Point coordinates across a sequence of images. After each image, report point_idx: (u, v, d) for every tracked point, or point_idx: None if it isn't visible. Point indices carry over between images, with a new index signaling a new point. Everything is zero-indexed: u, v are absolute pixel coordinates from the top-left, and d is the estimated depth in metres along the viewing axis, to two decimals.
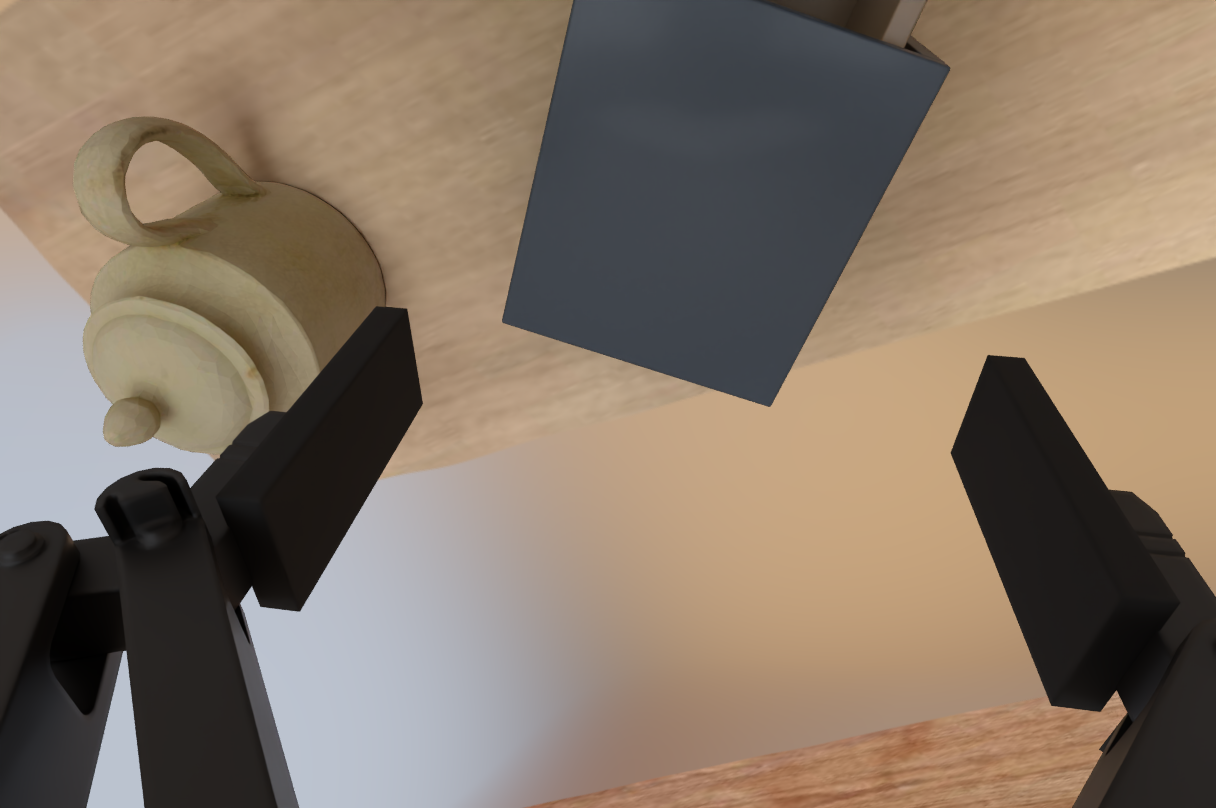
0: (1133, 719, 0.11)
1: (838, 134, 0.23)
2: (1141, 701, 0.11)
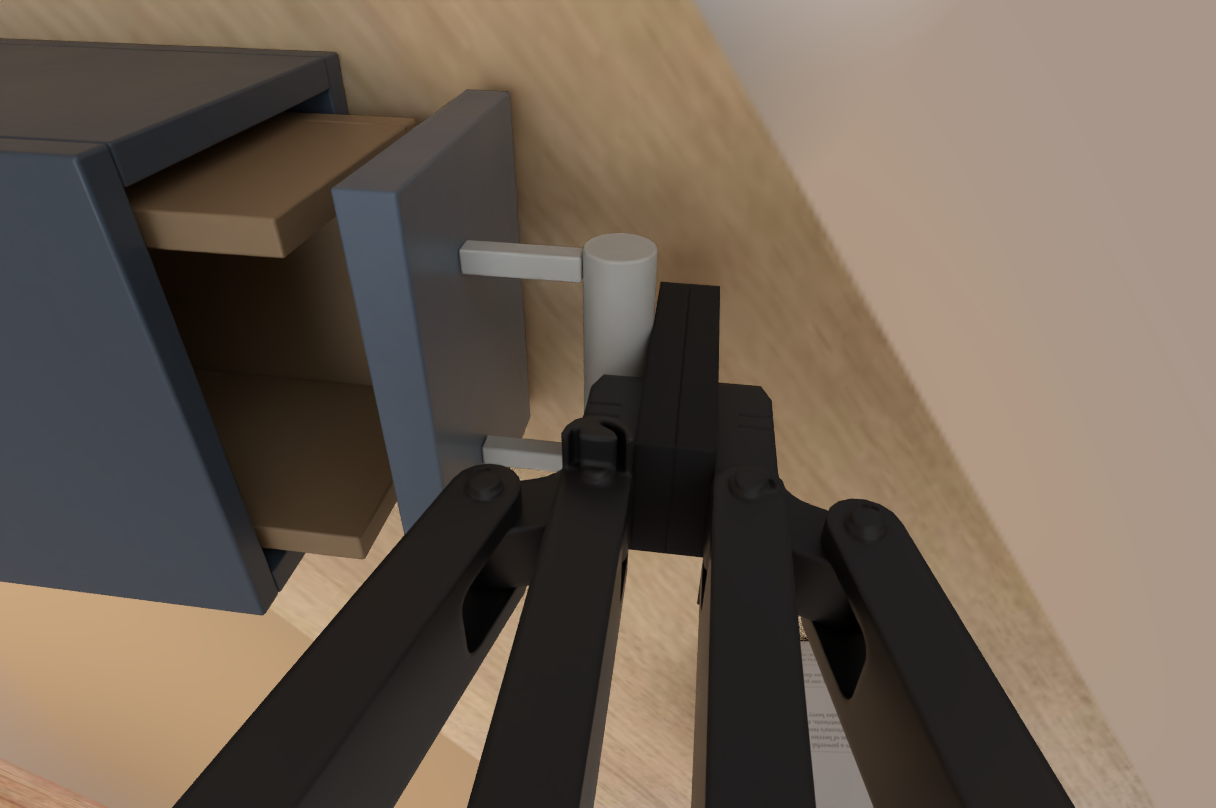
0: (707, 570, 0.13)
1: (129, 541, 0.17)
2: (706, 554, 0.13)
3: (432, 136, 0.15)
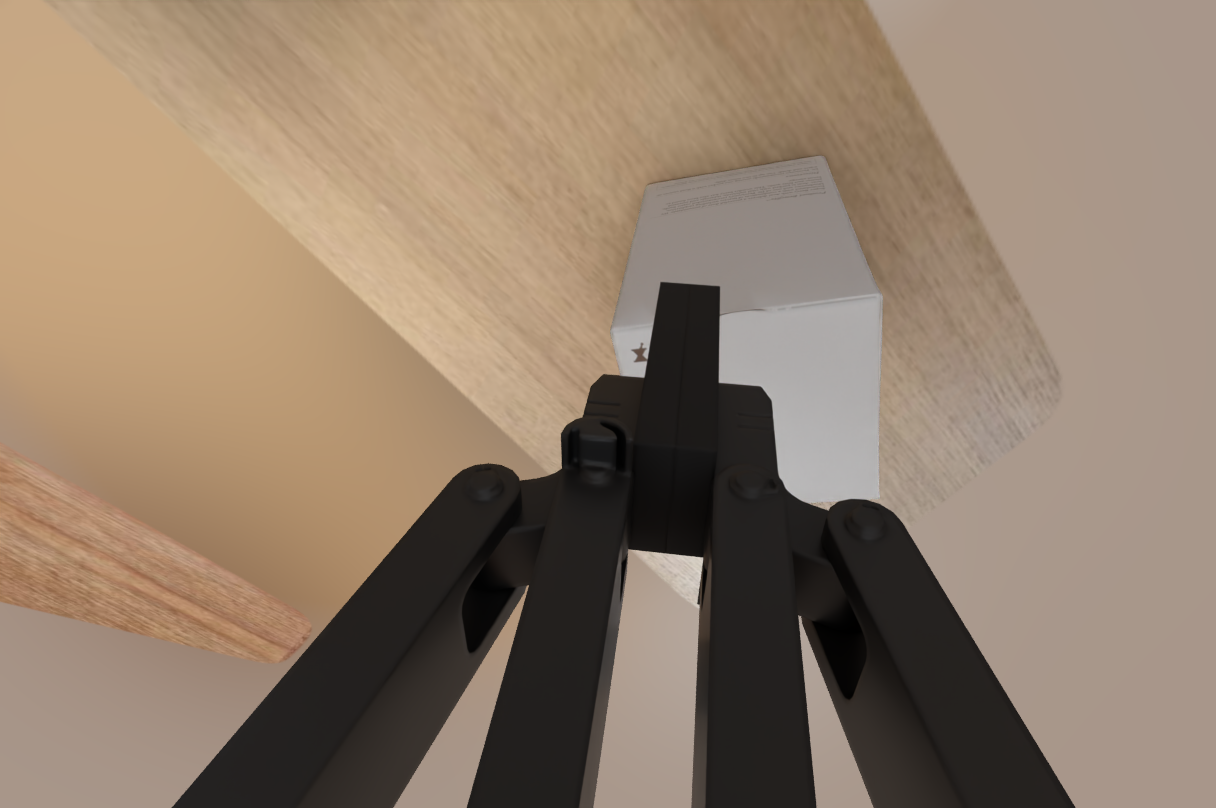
0: (707, 570, 0.13)
1: None
2: (706, 554, 0.13)
3: None
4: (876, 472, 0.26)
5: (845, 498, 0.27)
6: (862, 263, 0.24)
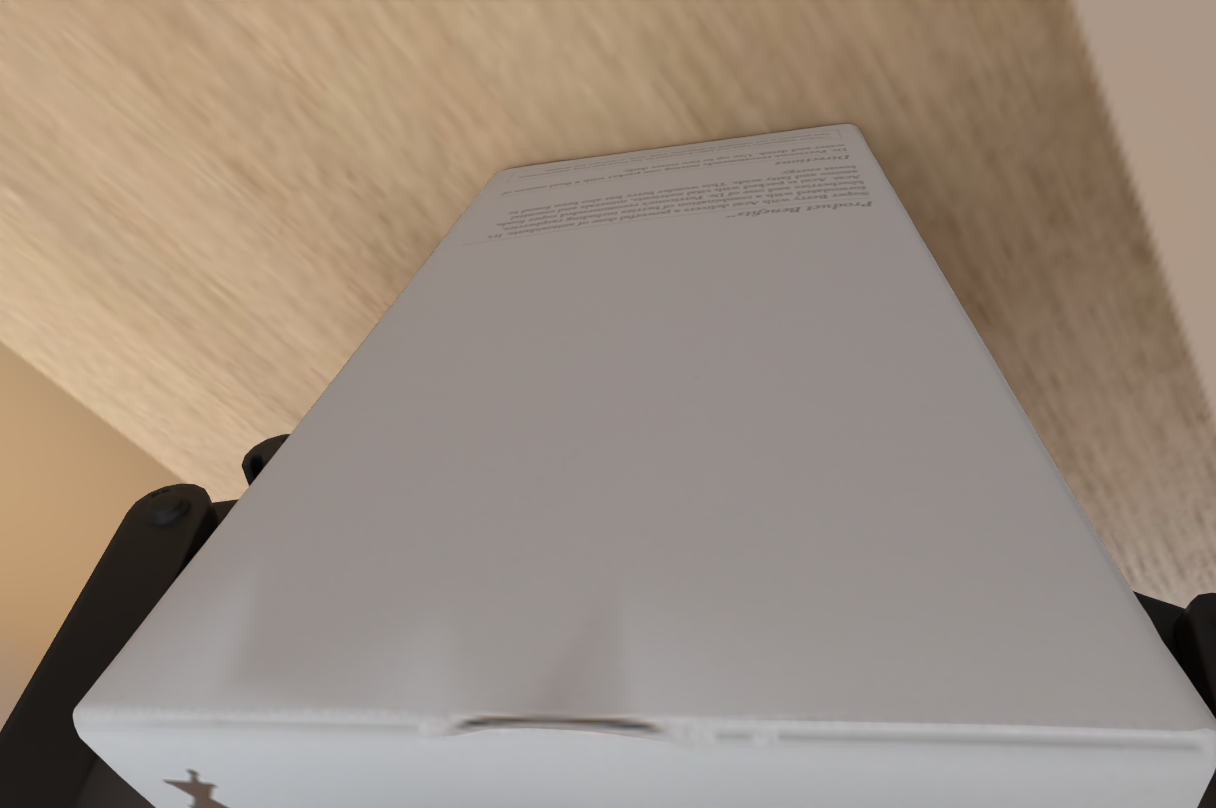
0: None
1: None
2: None
3: None
4: None
5: None
6: (1057, 491, 0.06)
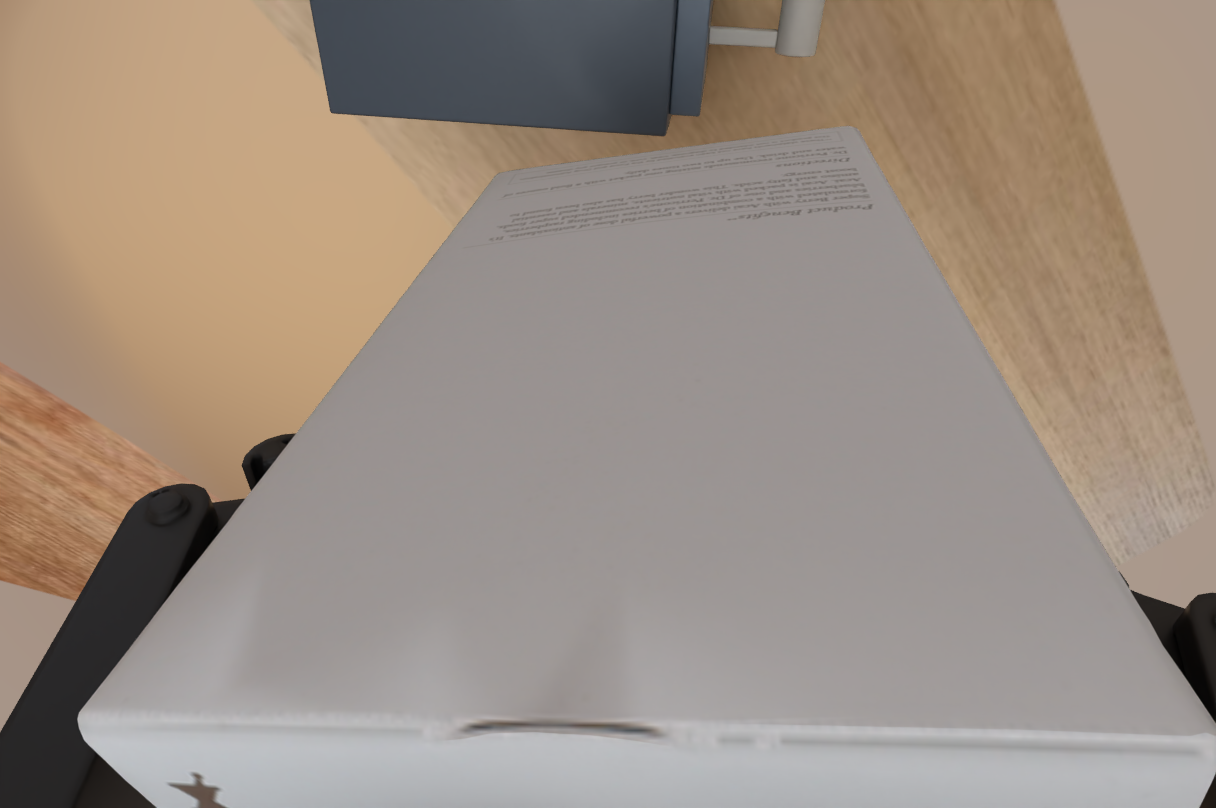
0: None
1: (595, 67, 0.27)
2: None
3: None
4: None
5: None
6: (1058, 495, 0.06)
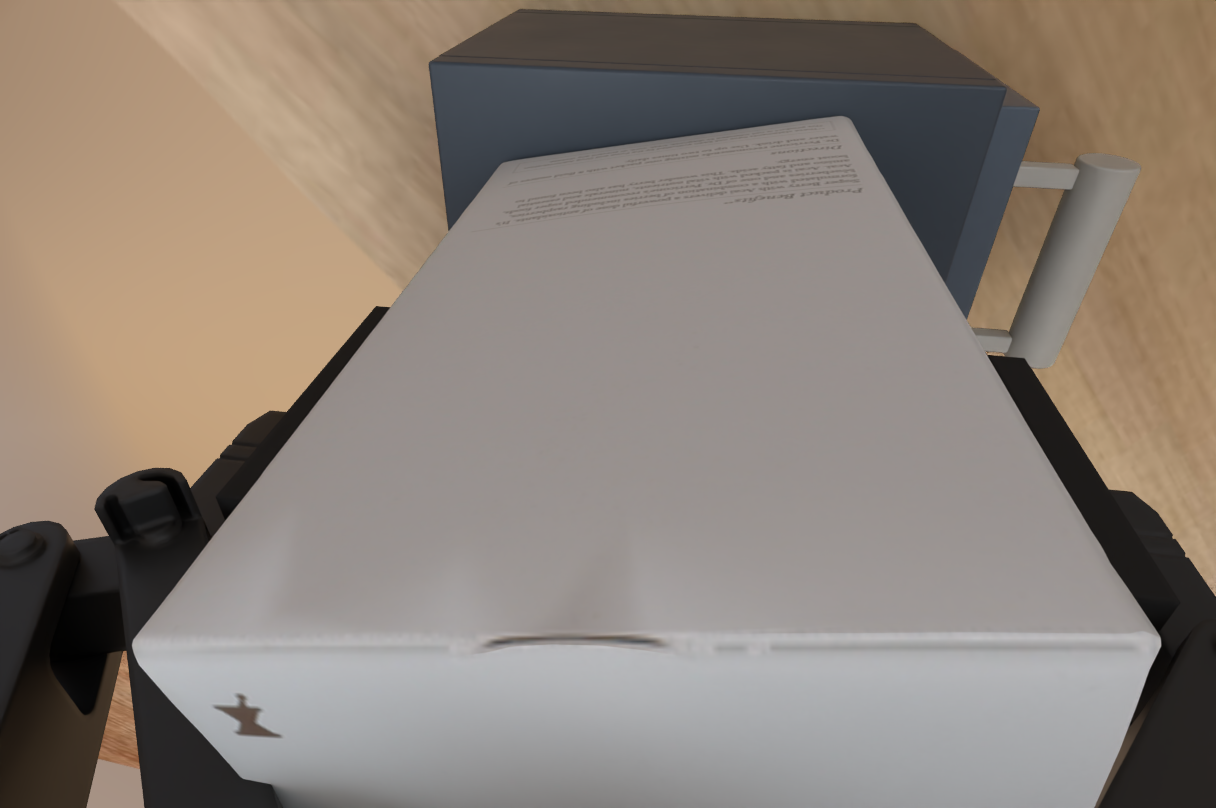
0: (1133, 719, 0.11)
1: None
2: (1141, 701, 0.11)
3: None
4: None
5: None
6: (1023, 440, 0.07)
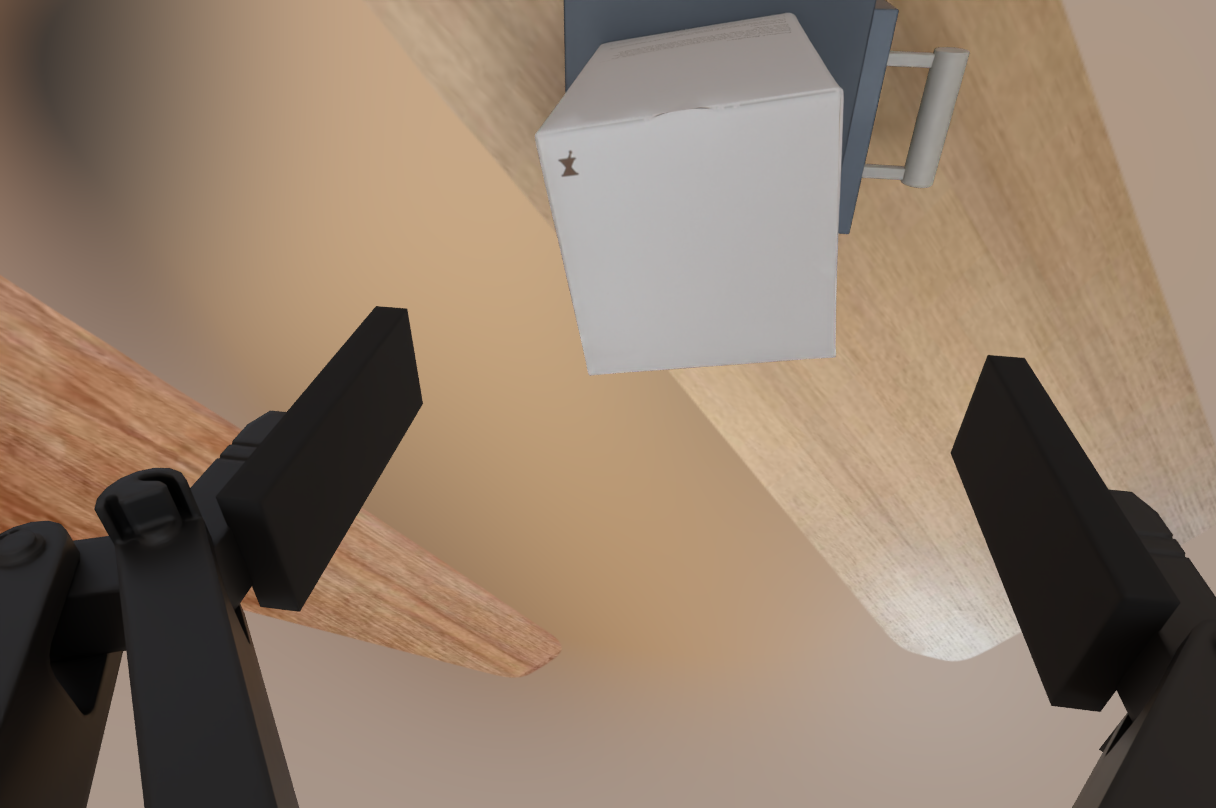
0: (1133, 719, 0.11)
1: None
2: (1141, 701, 0.11)
3: None
4: (832, 322, 0.23)
5: (798, 356, 0.24)
6: (823, 69, 0.21)
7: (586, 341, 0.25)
